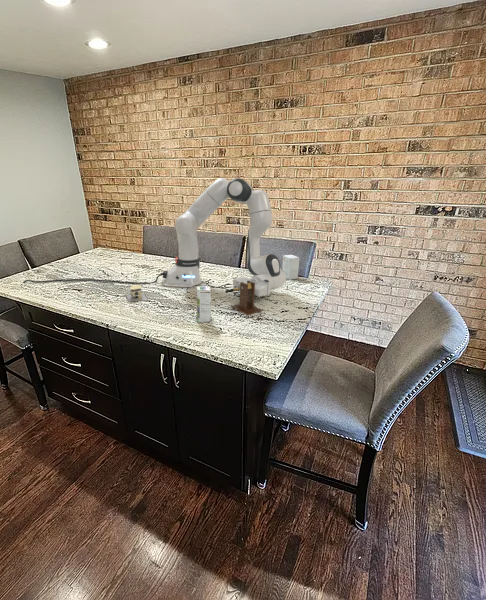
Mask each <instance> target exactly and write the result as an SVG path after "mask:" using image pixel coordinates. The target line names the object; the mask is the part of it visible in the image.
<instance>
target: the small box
mask: <svg viewBox="0 0 486 600" xmlns="http://www.w3.org/2000/svg"><path fill="white" fill-rule="evenodd" d="M299 266H300V257H299V256H296V255H294V254H283V255H282V265H281V270H282V271H283V272H284V273H285V275H286V280H289V281H290V280H298V279H299V278H298V277H299V268H300V267H299Z"/></svg>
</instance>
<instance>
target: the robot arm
mask: <svg viewBox="0 0 486 600" xmlns="http://www.w3.org/2000/svg"><path fill="white" fill-rule="evenodd" d="M228 199H230V200H231V201H233V202H235V203H238V204H242V205H246V206H247V208H248V213H249V228H248V229H247V230H248V231H247V244H248V245H247V247H248V260H247V270H248V272H249V274H251V275H252V277H251V278H248V277H244V276H240V277H235V278H233V279H232V289H234V288H239V287H240V282H243V283H246V284H247V281H248V280H249V281H252V282H254V283H255V295H254V296H256V297H265V296H270V295H271V292H272V291H274V290H277V289H280V288H282V287H283V286H284V285H285V283H286V281H287V279H286V275H285V273H284V272H283V271H282V267H281V263H280V260H279V257H278V256H277V255H275V254H273V253H270V254H263V255H261V244H260V243H261V241H260V240H261V238H262V236H263V235H264V233H265V232H266V231H267V230H269V229H270V227H271V226H272V224H273V211H272V207H271V202H270V199H269V196H268V193H267V192H266V191H265V190H263V189H256V190H255V189H254V187H253V185H251V184H250V182H248V181H247V180H245V179H243V178H239V177H237V178H233V179H231V180H230V181H229V180H228V179H227V178H224V177H219V178H217V179H216V180H214V181H213V182H212V183H211V184H210V185H208V186H207V188H206V189H205V190H203V192H202V193H201V194H200V195H199V196H198V197H197V198H196V199H195V200H194V202H192V204H191V205H190V206H189V207H188V209H186V210H185V211H184V213H182V214H181V215H179V216H178V217H177V218H176V220H175V224H174V228H175V231H176V232H175V233H176V238H177V243H178V244H177V245H178V257H177V256H176V257H174V261H175V264H174V265H173V266H172V267H170V269H169V270H163V271H162V273H160V274H159V275H157V276H156V279H155V280H154V281H151V282H148V281H147V282H146V281H145V282H144V281H143V282H141V281H140V282H138V281H137V282H136V281H123V280H111V279H110V280H109V279H94V278H93V279H91V278H69V279H68V278H65V279H49V280H31V279H25V280H24V281H23V282H22V284H25V283H27V282H30V283H37V284H38V283H49V282H51V283H52V282H68V281H69V282H70V281H87V282H88V281H93V282H106V283H107V282H108V283H120V284H132V285H149V284H155V283H157V282H158V279H159V277H162V278H163V279H162V286H164V287H176V288H192V287H194V286H198V285H200V284H202V283H203V281H202V277H201V271H200V267H201V260H200V256H199V255H200V254H199V253H200V252H199V251H200V250H199V241H198V232H197V231H198V229H199V228H200V227H201V226H202V225H203V224H204V223H205V222H206V221H207V220H208V219H209V218H210V217H211V215H213V213H215V212H216V210H218V208H219V207H221V206H222V204H224V202H225V201H227V200H228ZM238 292H239V293H240V290H238Z"/></svg>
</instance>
